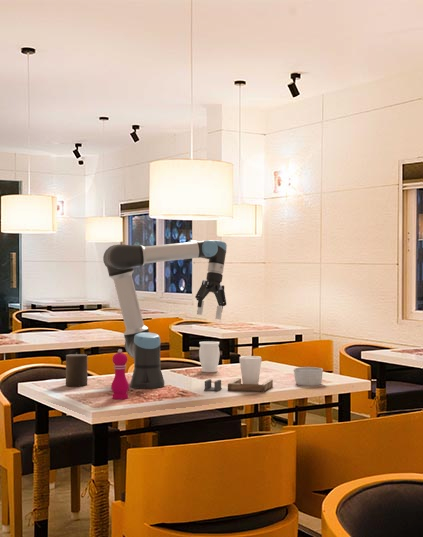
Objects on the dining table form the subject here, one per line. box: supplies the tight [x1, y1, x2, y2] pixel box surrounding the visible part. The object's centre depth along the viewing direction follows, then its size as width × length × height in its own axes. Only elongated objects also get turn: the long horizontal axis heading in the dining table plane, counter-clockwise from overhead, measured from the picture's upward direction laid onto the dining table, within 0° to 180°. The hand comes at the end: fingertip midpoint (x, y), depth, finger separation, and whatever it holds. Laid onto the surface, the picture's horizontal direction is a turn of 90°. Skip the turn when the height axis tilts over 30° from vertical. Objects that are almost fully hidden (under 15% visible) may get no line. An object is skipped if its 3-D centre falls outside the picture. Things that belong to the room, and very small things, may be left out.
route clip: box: [203, 379, 223, 392], centre depth 326 cm, size 6×6×4 cm
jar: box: [198, 340, 221, 373], centre depth 384 cm, size 11×10×15 cm
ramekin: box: [293, 366, 324, 387], centre depth 341 cm, size 13×13×7 cm
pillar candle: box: [65, 352, 88, 388], centre depth 342 cm, size 10×10×15 cm
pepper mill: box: [110, 348, 130, 400], centre depth 307 cm, size 7×7×20 cm
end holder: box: [227, 378, 274, 393], centre depth 329 cm, size 16×16×3 cm
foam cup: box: [239, 355, 262, 384], centre depth 329 cm, size 10×9×13 cm
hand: (208, 317), depth 358 cm, fingers open, 13 cm apart
